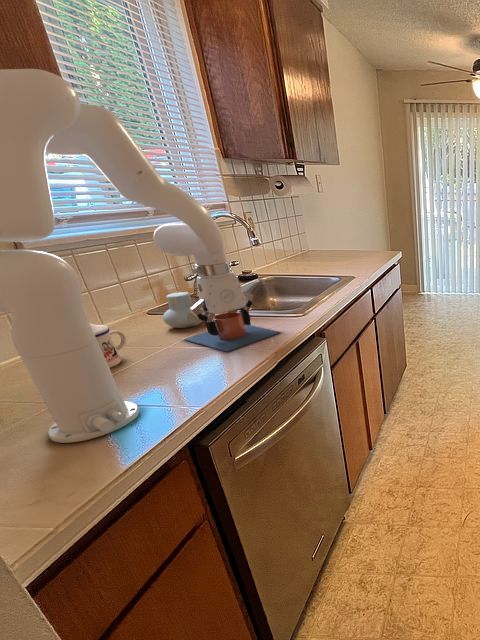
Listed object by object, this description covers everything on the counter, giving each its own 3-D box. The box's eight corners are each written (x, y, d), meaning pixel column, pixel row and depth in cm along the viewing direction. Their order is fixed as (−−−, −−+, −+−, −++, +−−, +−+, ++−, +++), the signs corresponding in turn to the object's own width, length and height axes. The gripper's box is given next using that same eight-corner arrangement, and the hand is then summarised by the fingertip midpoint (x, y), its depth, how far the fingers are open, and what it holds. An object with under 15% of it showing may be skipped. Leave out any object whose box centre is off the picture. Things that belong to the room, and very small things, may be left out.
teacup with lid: (88, 376, 93) (65, 329, 88) (65, 371, 96) (42, 325, 91) (143, 357, 103) (126, 313, 98) (121, 352, 106) (103, 310, 101)
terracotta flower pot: (252, 333, 117) (247, 313, 114) (228, 341, 111) (222, 321, 108) (237, 329, 120) (231, 310, 117) (213, 337, 114) (206, 317, 112)
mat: (280, 333, 118) (280, 331, 118) (227, 352, 105) (227, 351, 105) (237, 323, 126) (237, 322, 126) (184, 340, 113) (184, 339, 113)
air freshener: (185, 331, 120) (174, 299, 116) (161, 330, 121) (149, 298, 117) (212, 320, 130) (203, 290, 125) (190, 319, 131) (180, 289, 127)
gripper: (188, 277, 99) (208, 341, 106) (252, 265, 113) (266, 322, 120) (171, 274, 102) (192, 337, 109) (235, 263, 116) (250, 319, 123)
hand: (231, 329), depth 115 cm, fingers open, 9 cm apart
